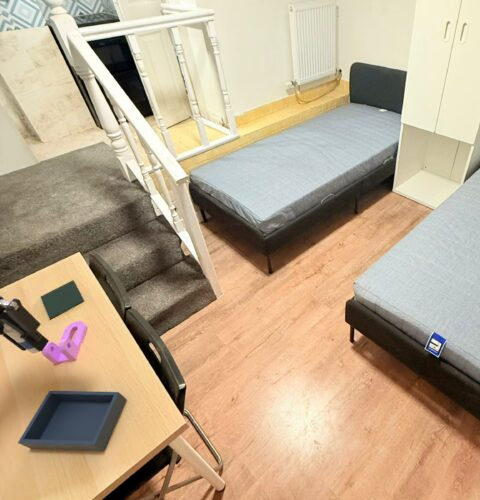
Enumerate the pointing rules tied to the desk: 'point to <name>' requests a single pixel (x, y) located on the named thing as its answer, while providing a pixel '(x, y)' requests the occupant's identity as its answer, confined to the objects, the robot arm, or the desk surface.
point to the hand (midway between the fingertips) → (35, 345)
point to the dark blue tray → (74, 421)
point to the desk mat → (62, 299)
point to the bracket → (66, 344)
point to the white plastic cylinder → (19, 339)
